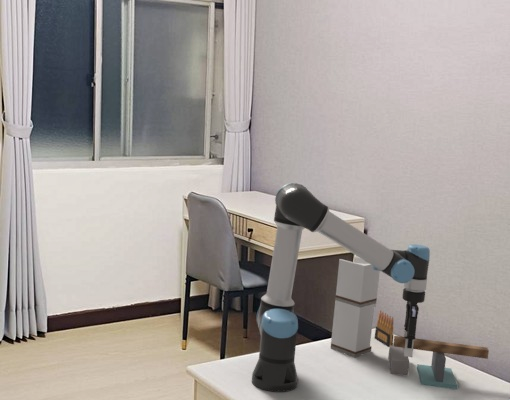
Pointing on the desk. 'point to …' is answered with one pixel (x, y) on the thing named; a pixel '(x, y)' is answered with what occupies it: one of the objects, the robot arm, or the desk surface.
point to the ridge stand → (437, 373)
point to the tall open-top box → (354, 307)
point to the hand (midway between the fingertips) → (407, 352)
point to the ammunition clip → (384, 329)
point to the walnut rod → (444, 347)
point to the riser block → (398, 361)
